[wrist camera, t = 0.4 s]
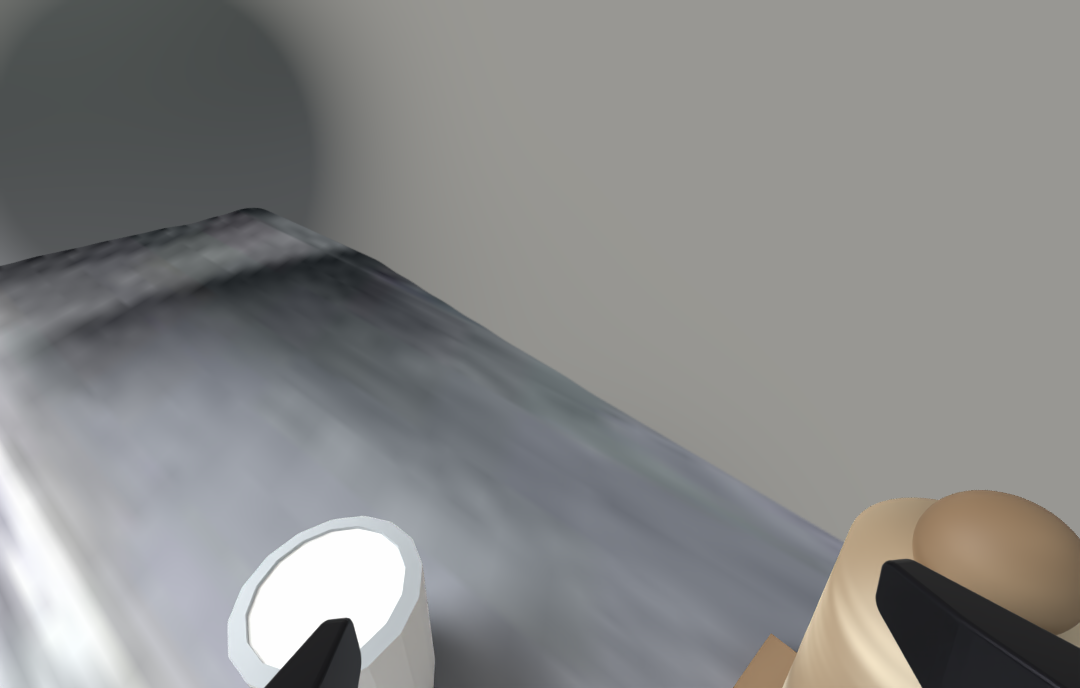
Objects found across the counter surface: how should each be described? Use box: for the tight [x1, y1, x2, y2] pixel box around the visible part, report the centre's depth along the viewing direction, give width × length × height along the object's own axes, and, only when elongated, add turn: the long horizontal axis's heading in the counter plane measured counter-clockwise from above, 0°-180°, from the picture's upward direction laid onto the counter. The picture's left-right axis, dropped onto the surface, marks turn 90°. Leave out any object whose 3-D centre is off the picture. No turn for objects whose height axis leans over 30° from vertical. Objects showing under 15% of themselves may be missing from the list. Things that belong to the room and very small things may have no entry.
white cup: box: [228, 516, 435, 688], centre depth 21 cm, size 7×7×7 cm
